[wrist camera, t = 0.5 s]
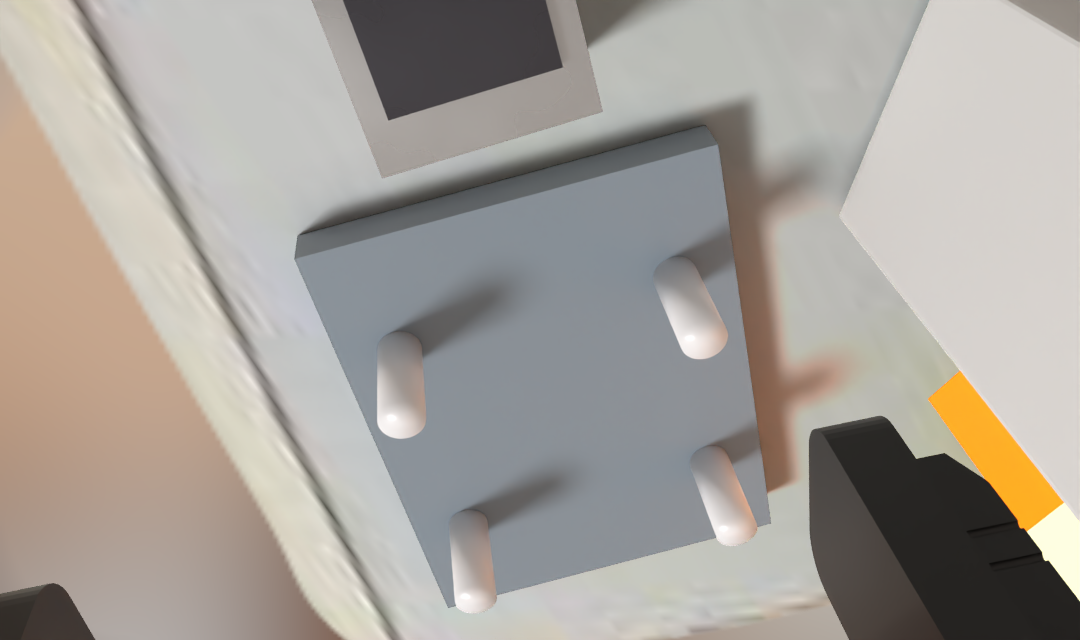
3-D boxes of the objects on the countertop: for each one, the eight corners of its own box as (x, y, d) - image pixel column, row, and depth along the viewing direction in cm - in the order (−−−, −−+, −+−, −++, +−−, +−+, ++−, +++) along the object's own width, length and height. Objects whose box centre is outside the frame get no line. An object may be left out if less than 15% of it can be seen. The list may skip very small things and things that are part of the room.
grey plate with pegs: (297, 235, 27) (285, 326, 23) (705, 125, 26) (754, 199, 23) (446, 580, 35) (453, 685, 31) (759, 497, 34) (802, 594, 31)
